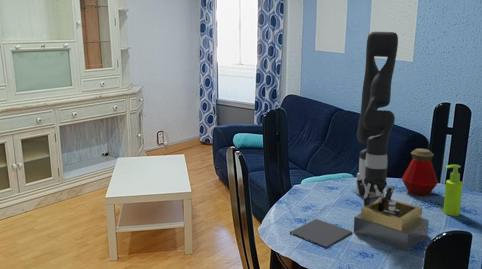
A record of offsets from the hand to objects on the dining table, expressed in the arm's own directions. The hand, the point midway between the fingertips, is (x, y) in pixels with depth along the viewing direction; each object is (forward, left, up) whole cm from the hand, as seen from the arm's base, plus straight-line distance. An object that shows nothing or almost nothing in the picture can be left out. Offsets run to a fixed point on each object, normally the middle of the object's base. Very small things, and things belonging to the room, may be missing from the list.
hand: (373, 209), depth 153 cm
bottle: (-4, +48, -8) cm, 49 cm away
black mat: (-11, -17, -8) cm, 22 cm away
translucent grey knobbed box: (+7, 0, -7) cm, 10 cm away
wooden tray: (+7, 0, -2) cm, 7 cm away
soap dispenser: (+15, +34, -8) cm, 38 cm away
